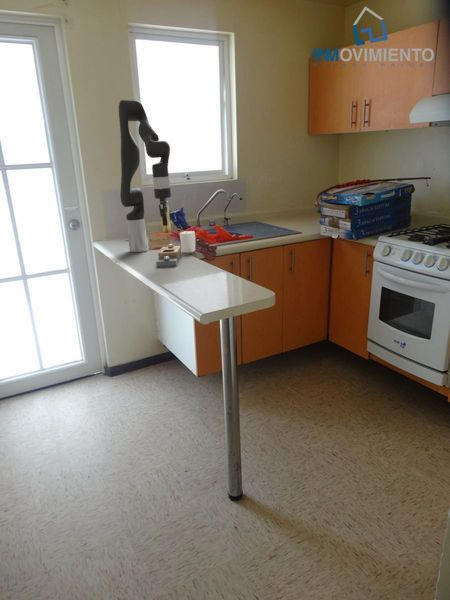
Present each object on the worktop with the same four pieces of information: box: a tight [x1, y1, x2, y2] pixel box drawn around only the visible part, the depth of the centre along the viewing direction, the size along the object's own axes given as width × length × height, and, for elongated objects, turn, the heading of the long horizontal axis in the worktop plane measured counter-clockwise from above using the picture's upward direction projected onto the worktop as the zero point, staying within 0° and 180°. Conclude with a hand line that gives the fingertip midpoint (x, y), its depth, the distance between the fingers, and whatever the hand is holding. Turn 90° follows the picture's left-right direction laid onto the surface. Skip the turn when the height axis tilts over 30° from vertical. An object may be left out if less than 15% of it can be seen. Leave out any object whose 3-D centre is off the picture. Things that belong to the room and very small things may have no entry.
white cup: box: [179, 230, 196, 254], centre depth 225 cm, size 8×8×10 cm
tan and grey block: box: [155, 243, 182, 268], centre depth 207 cm, size 9×22×6 cm, turn 179°
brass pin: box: [160, 205, 172, 234], centre depth 201 cm, size 4×4×12 cm
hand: (165, 224), depth 202 cm, fingers closed on brass pin, 4 cm apart
